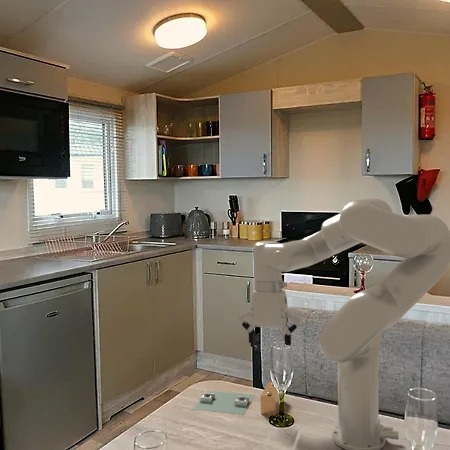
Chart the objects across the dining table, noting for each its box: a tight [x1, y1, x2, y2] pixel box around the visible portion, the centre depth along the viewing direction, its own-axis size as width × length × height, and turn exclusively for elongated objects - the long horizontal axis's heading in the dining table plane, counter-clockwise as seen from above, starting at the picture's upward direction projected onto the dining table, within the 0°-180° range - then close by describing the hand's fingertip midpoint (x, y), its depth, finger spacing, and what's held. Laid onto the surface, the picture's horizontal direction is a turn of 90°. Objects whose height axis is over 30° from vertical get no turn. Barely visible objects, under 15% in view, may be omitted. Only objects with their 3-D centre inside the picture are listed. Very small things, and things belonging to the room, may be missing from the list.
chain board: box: [192, 390, 256, 416], centre depth 144 cm, size 15×13×1 cm
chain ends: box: [199, 392, 250, 407], centre depth 144 cm, size 14×4×1 cm, turn 72°
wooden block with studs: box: [260, 381, 280, 416], centre depth 139 cm, size 4×10×7 cm, turn 162°
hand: (269, 346), depth 138 cm, fingers open, 9 cm apart
